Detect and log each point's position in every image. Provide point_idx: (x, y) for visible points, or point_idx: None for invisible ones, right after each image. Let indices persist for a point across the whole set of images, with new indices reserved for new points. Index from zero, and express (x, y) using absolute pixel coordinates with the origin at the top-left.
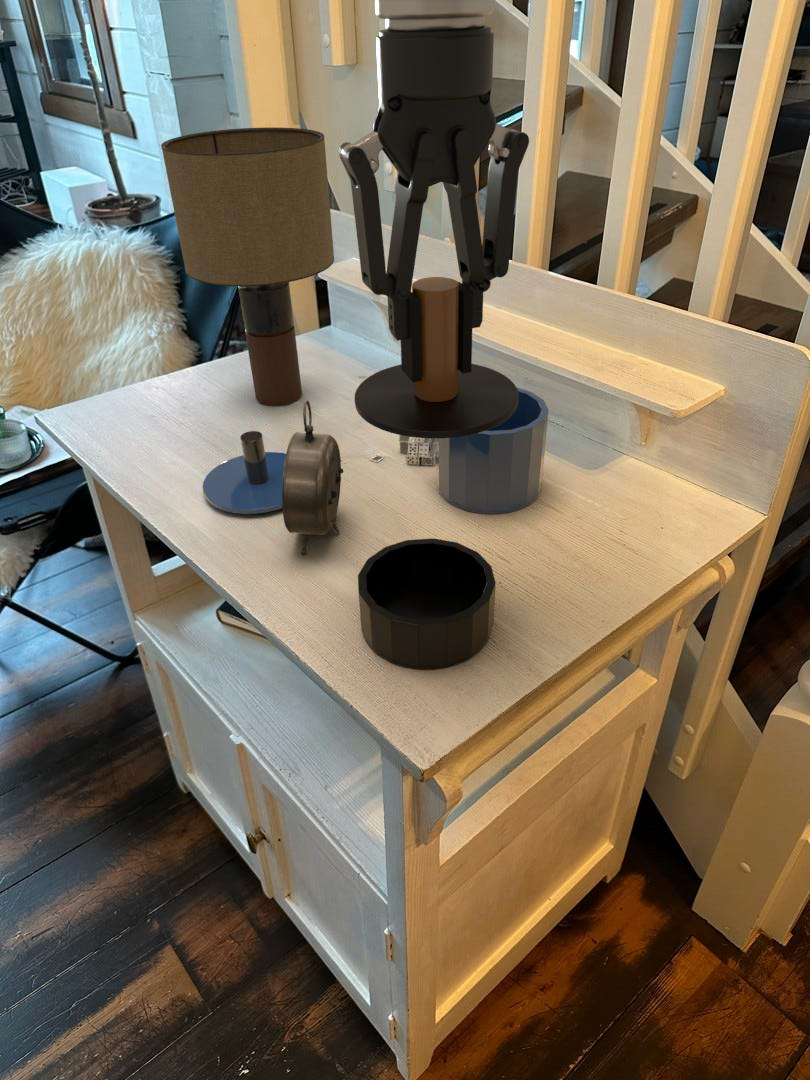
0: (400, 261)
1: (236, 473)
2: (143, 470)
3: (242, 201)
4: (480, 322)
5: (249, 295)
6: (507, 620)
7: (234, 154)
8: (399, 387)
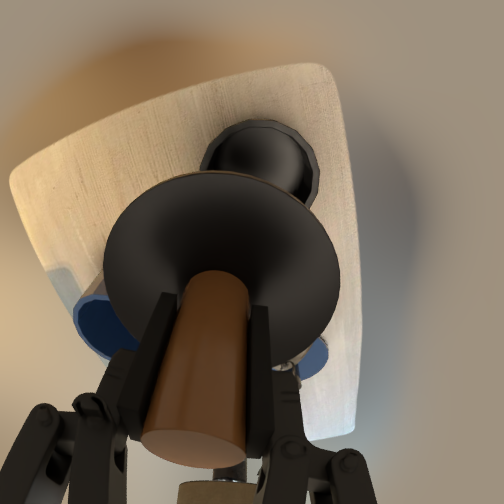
0: None
1: (299, 369)
2: (339, 388)
3: None
4: (117, 353)
5: (243, 477)
6: (201, 142)
7: None
8: None
